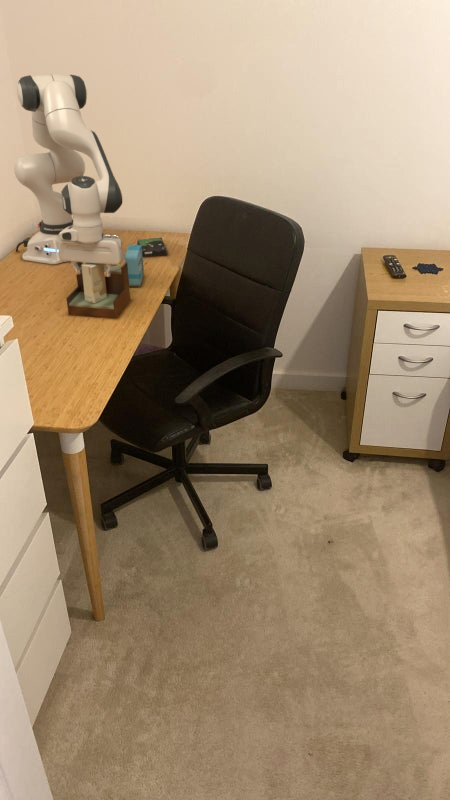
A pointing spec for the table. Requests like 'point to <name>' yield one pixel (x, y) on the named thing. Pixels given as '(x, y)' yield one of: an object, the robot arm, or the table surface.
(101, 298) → the cosmetic box
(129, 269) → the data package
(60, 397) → the table surface
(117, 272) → the step shelf
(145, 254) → the disk drive
